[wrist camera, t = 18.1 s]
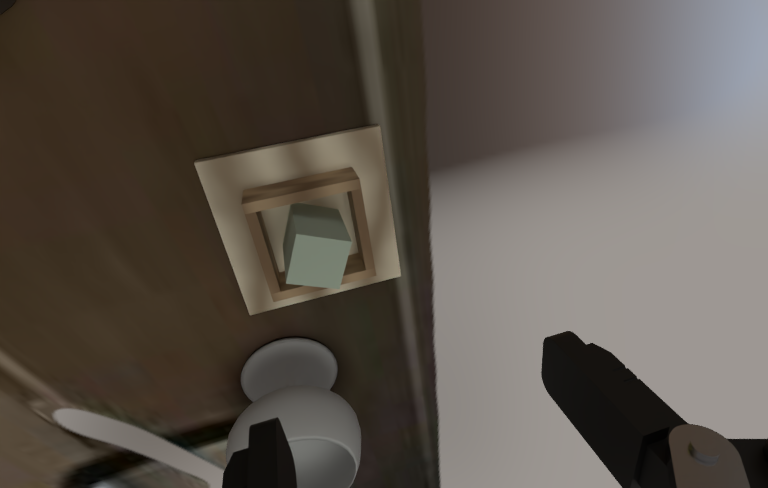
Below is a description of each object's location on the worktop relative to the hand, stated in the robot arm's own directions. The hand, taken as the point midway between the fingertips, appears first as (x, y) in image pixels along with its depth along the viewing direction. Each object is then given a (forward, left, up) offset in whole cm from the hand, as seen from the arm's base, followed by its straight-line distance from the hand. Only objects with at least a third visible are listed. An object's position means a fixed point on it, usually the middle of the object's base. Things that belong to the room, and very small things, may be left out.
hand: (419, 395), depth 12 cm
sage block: (-2, -9, -33) cm, 34 cm away
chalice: (-9, -29, -34) cm, 46 cm away
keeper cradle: (-2, -9, -34) cm, 35 cm away
